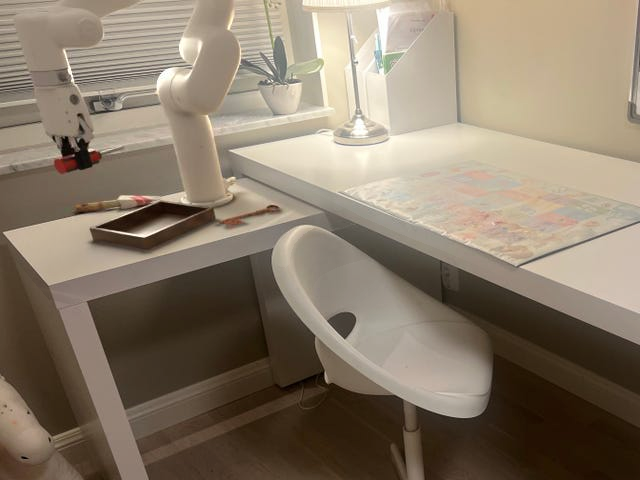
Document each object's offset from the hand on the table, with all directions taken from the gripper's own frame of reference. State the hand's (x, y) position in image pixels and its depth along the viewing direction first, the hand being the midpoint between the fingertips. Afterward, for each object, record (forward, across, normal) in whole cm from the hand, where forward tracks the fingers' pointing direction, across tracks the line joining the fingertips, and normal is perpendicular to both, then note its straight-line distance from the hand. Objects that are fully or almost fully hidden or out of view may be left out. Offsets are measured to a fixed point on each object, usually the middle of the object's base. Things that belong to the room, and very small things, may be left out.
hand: (79, 166), depth 158 cm
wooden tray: (+15, -12, -6) cm, 20 cm away
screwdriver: (0, 0, -4) cm, 4 cm away
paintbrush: (+15, +10, -15) cm, 23 cm away
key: (+15, -27, -20) cm, 37 cm away
